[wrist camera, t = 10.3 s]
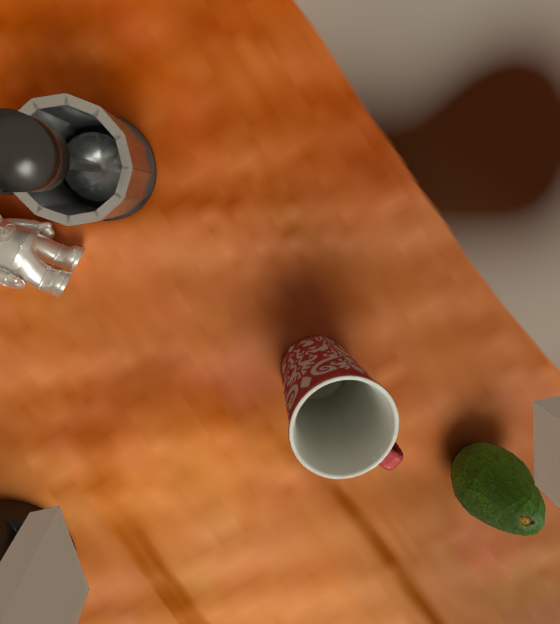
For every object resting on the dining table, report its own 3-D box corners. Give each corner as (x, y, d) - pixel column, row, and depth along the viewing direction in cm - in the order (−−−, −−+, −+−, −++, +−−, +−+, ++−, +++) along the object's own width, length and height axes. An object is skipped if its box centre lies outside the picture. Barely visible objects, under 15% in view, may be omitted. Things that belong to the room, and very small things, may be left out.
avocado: (485, 416, 54) (557, 477, 42) (509, 466, 56) (583, 537, 44) (425, 450, 54) (480, 520, 42) (451, 498, 56) (510, 578, 44)
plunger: (74, 205, 40) (-29, 216, 24) (55, 138, 39) (-69, 100, 22) (138, 194, 41) (81, 198, 24) (122, 127, 39) (49, 82, 23)
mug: (253, 370, 49) (264, 435, 36) (314, 309, 48) (348, 353, 35) (334, 440, 52) (370, 523, 39) (392, 384, 51) (450, 451, 38)
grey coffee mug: (48, 231, 43) (-6, 244, 33) (16, 126, 40) (-53, 105, 30) (166, 210, 44) (149, 217, 33) (142, 106, 41) (116, 79, 31)
